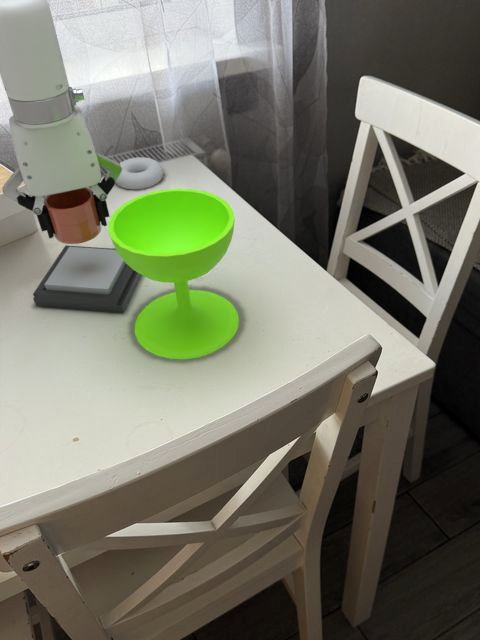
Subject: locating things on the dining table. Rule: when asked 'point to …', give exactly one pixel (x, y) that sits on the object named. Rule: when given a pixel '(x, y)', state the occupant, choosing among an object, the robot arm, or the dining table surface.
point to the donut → (139, 173)
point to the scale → (89, 300)
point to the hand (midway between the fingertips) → (76, 226)
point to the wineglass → (178, 268)
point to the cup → (73, 216)
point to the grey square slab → (87, 271)
